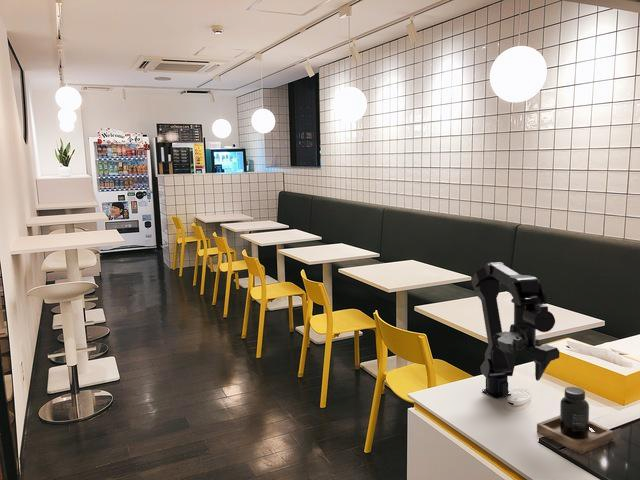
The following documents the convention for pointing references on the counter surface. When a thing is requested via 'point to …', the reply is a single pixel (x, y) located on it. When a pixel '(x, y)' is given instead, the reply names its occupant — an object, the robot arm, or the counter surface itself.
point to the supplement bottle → (574, 413)
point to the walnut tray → (577, 445)
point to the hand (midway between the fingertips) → (524, 374)
